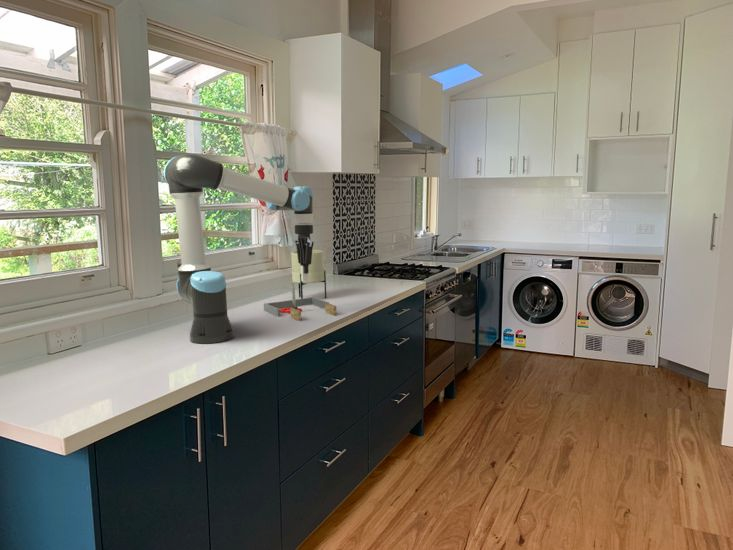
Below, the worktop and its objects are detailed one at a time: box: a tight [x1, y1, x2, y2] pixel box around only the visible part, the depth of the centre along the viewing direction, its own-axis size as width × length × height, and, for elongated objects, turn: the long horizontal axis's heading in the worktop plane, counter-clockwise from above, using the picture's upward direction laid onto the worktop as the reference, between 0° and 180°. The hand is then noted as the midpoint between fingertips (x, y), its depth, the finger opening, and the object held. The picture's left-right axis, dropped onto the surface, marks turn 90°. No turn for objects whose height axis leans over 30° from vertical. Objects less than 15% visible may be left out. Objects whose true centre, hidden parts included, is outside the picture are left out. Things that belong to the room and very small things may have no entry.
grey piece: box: [263, 296, 330, 317], centre depth 246 cm, size 24×16×3 cm, turn 121°
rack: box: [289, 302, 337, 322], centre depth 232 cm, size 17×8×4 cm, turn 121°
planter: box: [290, 249, 327, 299], centre depth 269 cm, size 15×16×23 cm
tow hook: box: [280, 282, 303, 314], centre depth 244 cm, size 8×13×9 cm
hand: (305, 281), depth 235 cm, fingers closed
